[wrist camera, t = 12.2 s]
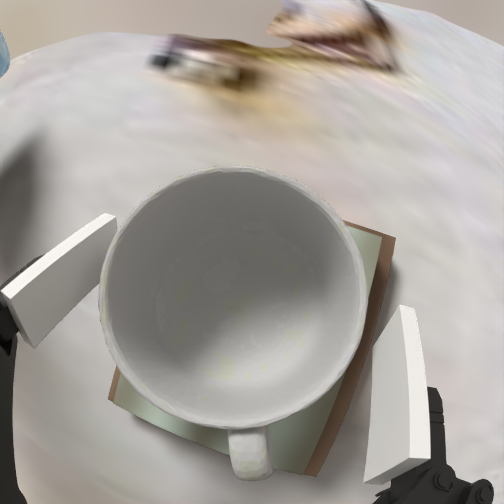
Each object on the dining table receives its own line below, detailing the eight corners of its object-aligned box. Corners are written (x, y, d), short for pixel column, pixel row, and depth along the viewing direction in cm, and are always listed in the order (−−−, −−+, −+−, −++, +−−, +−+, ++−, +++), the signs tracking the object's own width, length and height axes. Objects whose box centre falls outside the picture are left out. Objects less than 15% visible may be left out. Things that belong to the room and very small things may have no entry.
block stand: (124, 392, 23) (88, 406, 17) (193, 191, 27) (173, 159, 21) (312, 461, 21) (320, 495, 15) (383, 247, 24) (410, 226, 19)
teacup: (173, 220, 20) (120, 164, 12) (334, 225, 19) (366, 165, 11) (159, 420, 17) (97, 464, 9) (322, 436, 16) (348, 500, 8)
